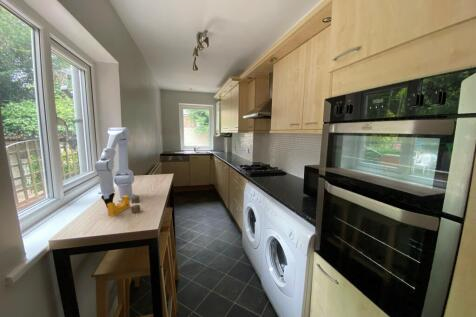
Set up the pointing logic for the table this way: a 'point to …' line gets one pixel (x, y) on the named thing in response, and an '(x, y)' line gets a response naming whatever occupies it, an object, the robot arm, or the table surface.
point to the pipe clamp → (118, 206)
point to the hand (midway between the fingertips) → (109, 207)
